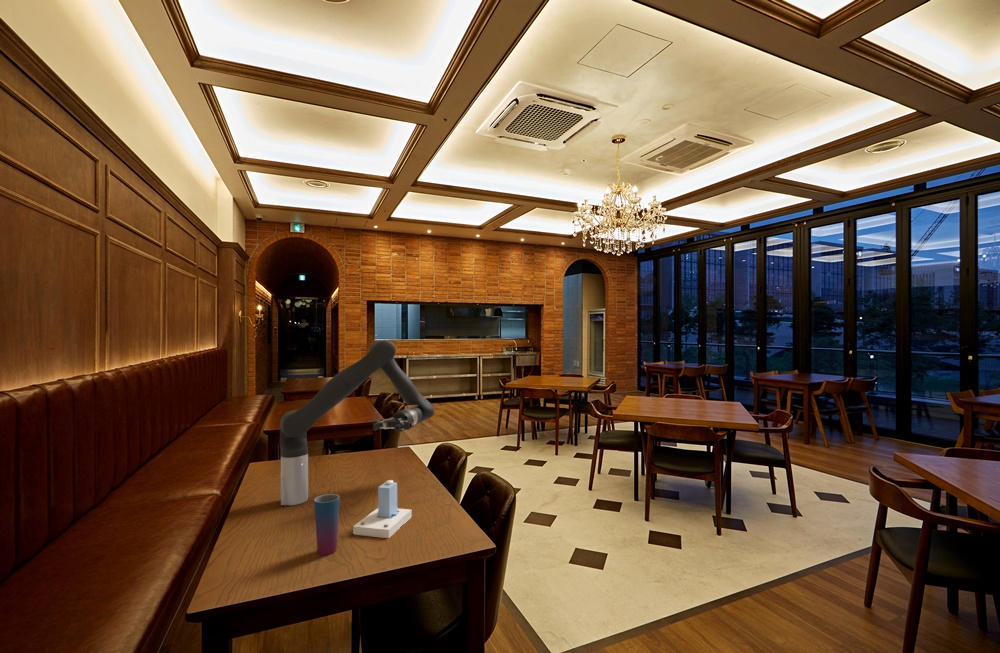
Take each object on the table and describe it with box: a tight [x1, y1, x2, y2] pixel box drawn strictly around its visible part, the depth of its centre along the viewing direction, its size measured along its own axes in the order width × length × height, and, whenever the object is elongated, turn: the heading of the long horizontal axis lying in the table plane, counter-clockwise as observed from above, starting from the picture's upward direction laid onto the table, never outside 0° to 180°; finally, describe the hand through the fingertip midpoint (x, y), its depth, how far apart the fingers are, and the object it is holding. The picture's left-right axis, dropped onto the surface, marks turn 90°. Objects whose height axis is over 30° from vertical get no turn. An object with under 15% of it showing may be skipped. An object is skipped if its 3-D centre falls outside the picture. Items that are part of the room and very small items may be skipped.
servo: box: [377, 479, 399, 519], centre depth 147 cm, size 6×7×13 cm
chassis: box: [352, 507, 413, 539], centre depth 144 cm, size 16×12×3 cm
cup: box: [313, 493, 340, 556], centre depth 127 cm, size 7×7×15 cm
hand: (384, 428), depth 160 cm, fingers open, 8 cm apart
